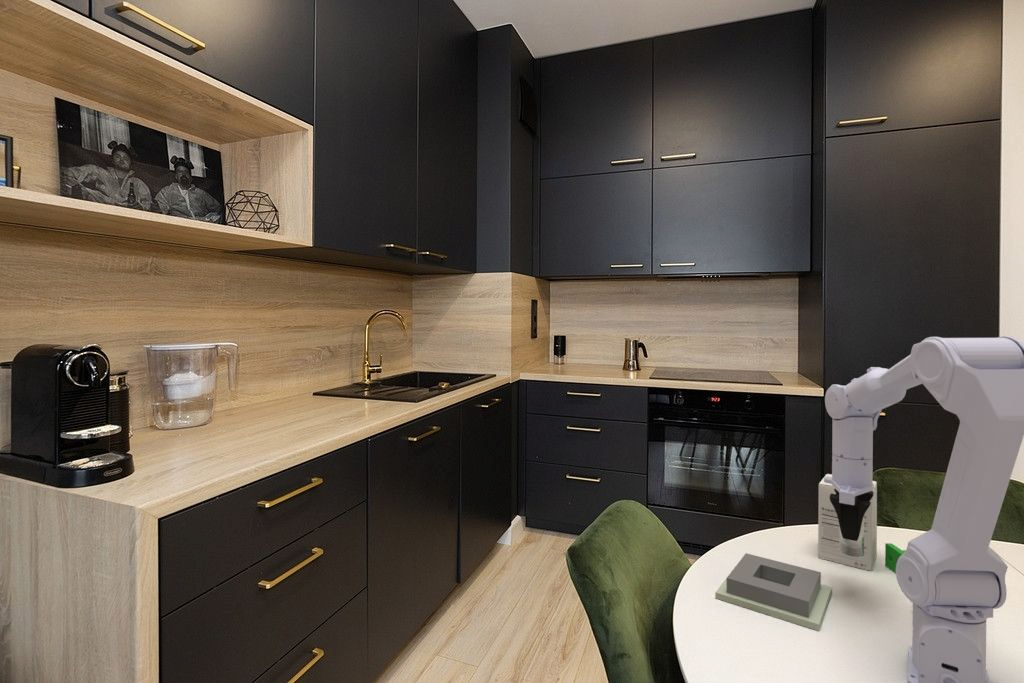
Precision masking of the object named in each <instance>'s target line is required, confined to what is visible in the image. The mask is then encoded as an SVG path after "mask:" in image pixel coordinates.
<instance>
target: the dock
mask: <svg viewBox="0 0 1024 683" xmlns="http://www.w3.org/2000/svg"><path fill="white" fill-rule="evenodd" d="M832 594H833V586H828V585H826V584H822V572H821V571H817V570H813V569H809V568H805V567H802V566H798V565H793V564H791V563H785V562H782V561H778V560H774V559H771V558H766V557H763V556H758V555H756V554H755V555H754V554H751V553H747V552H746V553H744V555H743V556H742V558H741V559H740V560H739V561H738V563H736V565H735V566H734V568H733V569H732V570H731V572H730V573H729V574H728V575H727V576H726V578H725V579H724V581H723V582H722V583H721V584H720V585H719V587H718V588H717V590H716V591H715V595H714V596H715V599H716V600H720V601H723V602H726V603H729V604H733V605H736V606H740V607H742V608H745V609H747V610H751V611H754V612H758V613H761V614H763V615H767V616H771V617H774V618H776V619H780V620H783V621H786V622H789V623H791V624H792V623H793V624H796V625H800V626H802V627H805V628H809V629H811V630H814V631H818V632H819V631H820V630H821V626H822V624H823V620H824V617H825V615H826V612H827V610H828V605H829V602H830V599H831V597H832Z"/></svg>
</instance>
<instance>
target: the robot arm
mask: <svg viewBox="0 0 1024 683" xmlns="http://www.w3.org/2000/svg"><path fill="white" fill-rule="evenodd" d="M919 385H923V386H924V387H925V388H926V390H927V391H928V392H929V393H930V395H931V396H933V398H934V399H935V400H936V401H937V402H938V404H939V405H940V406H941V407H942V408H943V410H945V411H947V412H950V413H952V414H954V415H956V417H957V418H958V420H959V425H958V429H957V432H956V435H955V439H954V444H953V447H952V451H951V455H950V459H949V462H948V465H947V470H946V474H945V477H944V481H943V483H942V484H943V485H942V489H941V491H940V495H939V499H938V503H937V506H936V511H935V513H934V518H933V522H932V525H931V529H930V530H927V531H926V532H923V533H922V534H920V535H918V536H916V537H915V538H912V539H910V540H909V541H908V542H907V546H906V549H905V550H906V551H905V552H904V553H903V554H902V555H901V556H900V557H899V559H898V561H897V564H896V574H895V577H896V580H897V584H898V586H899V587H900V590H901V591H902V593H903V595H904V596H905V597H906V599H907V600H909V601H910V603H912V634H911V635H912V638H911V639H912V642H911V643H912V644H911V645H909V646H908V656H907V657H908V658H907V659H908V660H907V683H990V679H989V678H990V677H989V673H988V670H987V663H986V662H987V619H990V618H992V619H993V618H994V610H997V609H999V608H1001V607H1003V605H1004V604H1005V602H1006V600H1007V594H1008V593H1007V585H1006V573H1007V571H1008V565H1007V563H1005V561H1004V560H1003V558H1002V557H1001V556H1000V555H999V554H998V553H997V552H996V551H995V550H993V548H991V547H990V544H991V540H992V539H993V538H992V537H993V534H994V531H995V528H996V525H997V522H998V518H999V515H1000V511H1001V509H1002V506H1003V503H1004V500H1005V496H1006V494H1007V490H1008V487H1009V484H1010V480H1011V478H1012V474H1013V471H1014V468H1015V465H1016V463H1017V457H1018V455H1019V451H1020V449H1021V445H1022V444H1023V443H1022V442H1023V439H1024V342H1023V341H1021V340H1020V339H1018V338H1017V337H1013V336H1004V335H1003V336H998V337H941V336H929V337H926V338H924V339H923V340H921V341H920V342H918V343H915V344H913V345H912V347H911V351H910V354H909V355H907V356H906V357H905V358H903V359H901V360H899V362H897V363H895V364H894V365H893V366H891V367H890V368H885V367H880V366H877V367H876V366H871V367H869V368H867V369H866V373H865V374H863V375H860V376H859V377H857V378H855V377H854V378H853V379H851V380H850V382H848V383H847V384H846V385H841V384H837V383H836V384H831V386H829V387H828V388H827V390H826V391H825V395H824V404H825V405H824V406H825V409H826V413H828V415H829V416H830V417H831V418H832V423H831V425H832V426H831V428H832V429H831V430H832V432H831V433H832V434H831V436H832V439H831V440H832V442H831V444H832V445H831V446H832V447H831V449H832V450H831V453H832V455H831V457H832V458H831V460H832V461H831V474H832V477H825V476H824V477H825V478H824V477H823V478H824V482H825V483H830V484H832V485H833V487H834V488H835V489H834V491H835V493H836V494H832V493H831V494H830V501H831V503H832V505H833V507H834V509H835V511H836V514H837V517H838V521H839V525H840V530H841V534H842V537H843V538H844V539H849V540H853V541H857V540H858V538H859V535H860V530H861V525H862V520H863V517H864V515H865V512H866V511H867V509H868V508H869V506H870V504H871V502H870V500H871V498H872V497H873V495H874V492H873V491H872V490H874V484H873V481H874V480H873V478H874V476H873V472H874V471H873V470H874V466H873V464H874V463H873V458H874V456H873V455H874V454H873V452H874V449H873V448H874V446H873V444H874V437H873V436H874V431H876V430H877V428H878V419H879V417H880V416H881V413H882V410H883V409H887V408H889V407H890V406H893V405H895V404H897V403H899V402H901V401H903V399H904V398H905V396H906V393H907V390H909V389H911V388H914V387H917V386H919Z"/></svg>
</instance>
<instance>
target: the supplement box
mask: <svg viewBox="0 0 1024 683" xmlns="http://www.w3.org/2000/svg"><path fill="white" fill-rule="evenodd" d="M825 477H832V473H831V474H830V473H827V474H825V475H824V477H823V478H822V479H821V481H819V483H818V513H817V514H818V520H817V521H818V522H817V524H818V528H817V529H818V532H817V534H818V539H817V540H818V541H817V542H818V544H817V545H818V548H817V550H818V553H817V554H818V557H817V558H818V559H821V560H822V559H823V560H826V561H828V562H833V563H838V564H842V565H845V566H850V567H853V568H858V569H862V570H864V571H865V570H866V571H869V572H870V571H871V572H872V571H873V569H874V565H875V562H876V559H877V555H878V548H877V547H878V542H877V541H878V540H877V539H878V536H877V534H878V529H877V528H878V525H877V524H878V521H877V520H878V503H877V502H878V484H877V483H878V482H877V481H875V480H873V484H874V490H872V491H873V492H874V495H873V497H872V498H871V500H870V502H871V504H870V506H869V508H868V509H867V511H866V512H865V515H864V556H862V557H853V556H849V555H846V554H843V553H841V552H840V551H839V521H838V517H837V514H836V511H835V509H834V507H833V505H832V503H831V501H830V494H831V493H832V494H836V493H835V491H834V489H835V488H834V487H833V485H832V484H830V483H825V482H824V478H825Z"/></svg>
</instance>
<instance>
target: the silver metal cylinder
mask: <svg viewBox="0 0 1024 683" xmlns="http://www.w3.org/2000/svg"><path fill="white" fill-rule="evenodd" d="M839 551H840V552H841V553H843V554H846V555H849V556H853V557H862V556H864V517H863V520H862V525H861V530H860V535H859V538H858V540H857V541H853V540H849V539H844V538H843V537H842V534H841V530H840V525H839Z"/></svg>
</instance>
